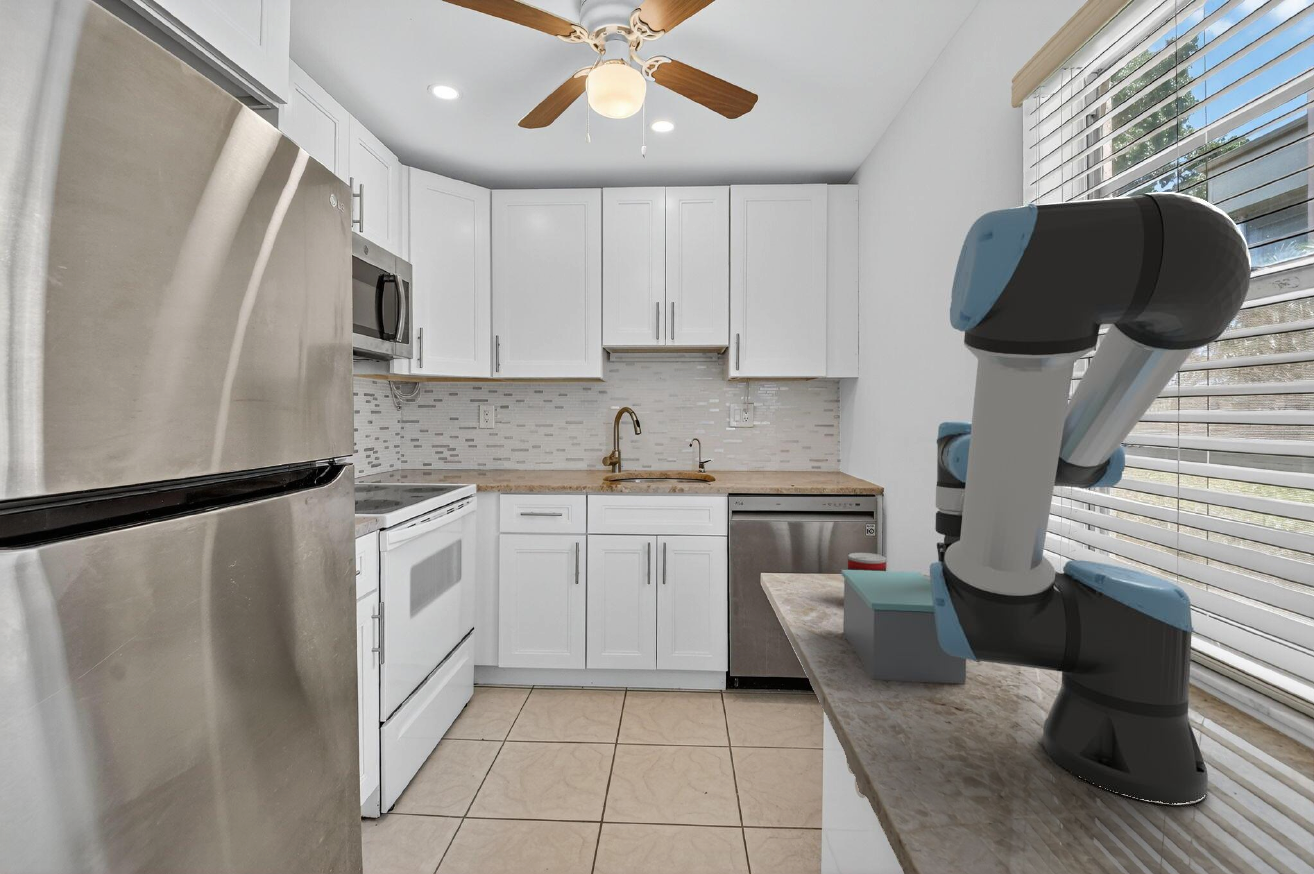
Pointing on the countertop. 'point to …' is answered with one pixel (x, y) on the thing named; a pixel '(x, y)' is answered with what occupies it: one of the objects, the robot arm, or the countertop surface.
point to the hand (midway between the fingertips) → (956, 647)
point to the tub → (898, 643)
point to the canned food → (866, 562)
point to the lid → (892, 589)
